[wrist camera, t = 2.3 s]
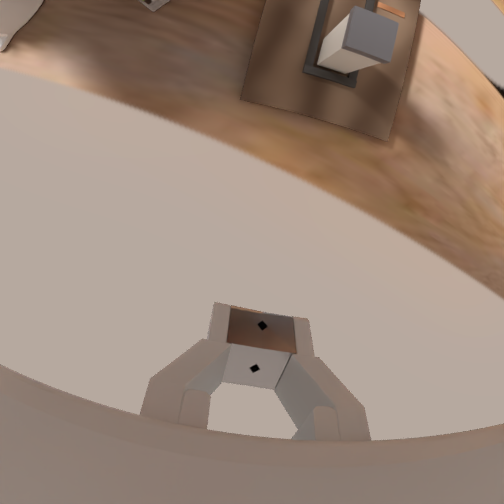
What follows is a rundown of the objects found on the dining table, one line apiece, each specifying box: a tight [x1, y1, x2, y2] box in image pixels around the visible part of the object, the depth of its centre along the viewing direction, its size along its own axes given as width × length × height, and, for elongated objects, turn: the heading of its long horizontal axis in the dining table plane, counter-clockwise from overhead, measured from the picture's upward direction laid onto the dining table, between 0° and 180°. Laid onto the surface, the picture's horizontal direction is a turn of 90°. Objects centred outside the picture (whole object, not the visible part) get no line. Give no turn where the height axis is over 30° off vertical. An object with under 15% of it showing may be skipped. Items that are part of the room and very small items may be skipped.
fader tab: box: [317, 6, 399, 74], centre depth 22 cm, size 3×3×12 cm
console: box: [240, 0, 421, 142], centre depth 26 cm, size 16×22×4 cm
